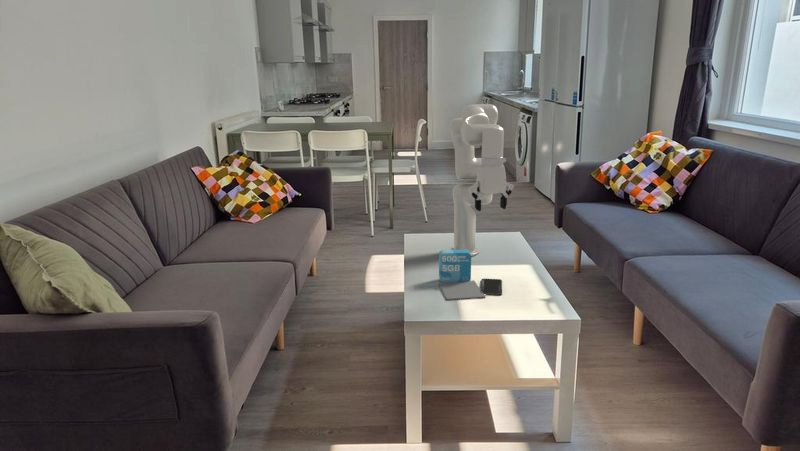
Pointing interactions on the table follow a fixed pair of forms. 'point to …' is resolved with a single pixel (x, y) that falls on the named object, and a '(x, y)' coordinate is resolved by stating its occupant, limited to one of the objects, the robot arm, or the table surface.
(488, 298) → the table surface
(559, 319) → the table surface
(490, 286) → the phone
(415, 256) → the table surface
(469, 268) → the data package
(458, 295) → the mat
